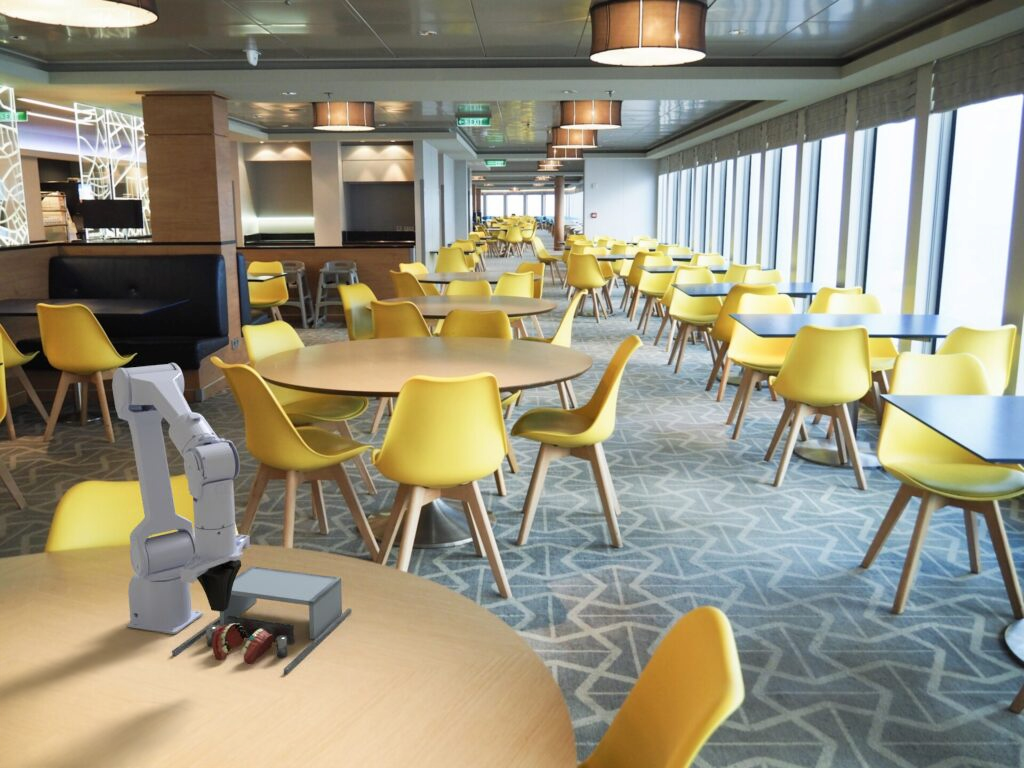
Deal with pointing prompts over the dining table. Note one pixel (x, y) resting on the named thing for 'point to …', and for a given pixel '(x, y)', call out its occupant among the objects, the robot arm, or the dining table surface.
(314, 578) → the housing
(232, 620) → the pin seat
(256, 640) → the dentures
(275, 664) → the dining table surface
